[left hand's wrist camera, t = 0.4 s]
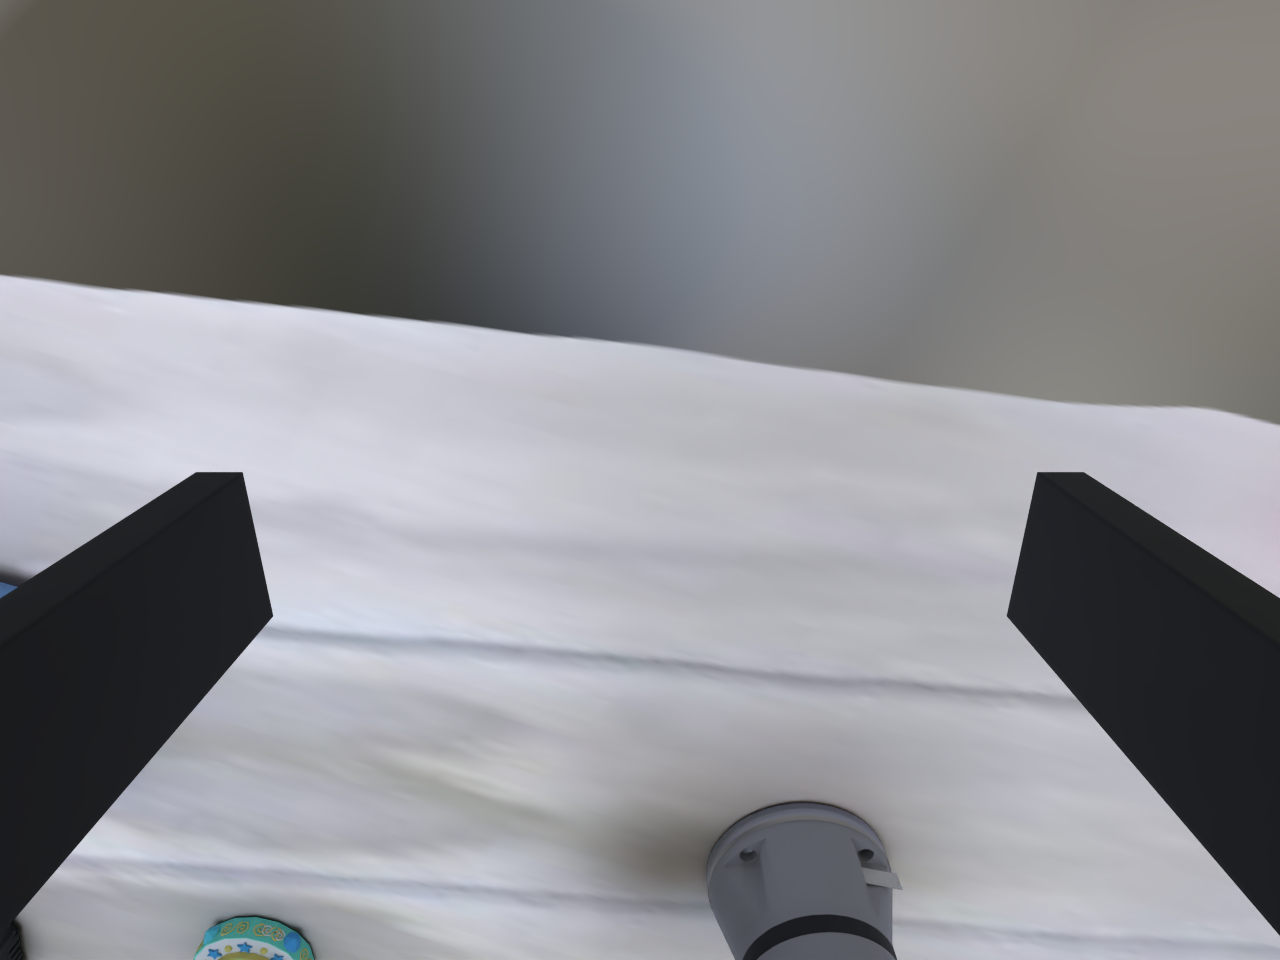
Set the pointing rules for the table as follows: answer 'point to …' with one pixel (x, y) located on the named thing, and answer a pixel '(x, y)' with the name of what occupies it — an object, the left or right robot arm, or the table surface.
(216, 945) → the decorative hourglass
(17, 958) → the power drill
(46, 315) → the table surface
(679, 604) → the table surface
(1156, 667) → the left robot arm
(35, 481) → the table surface
